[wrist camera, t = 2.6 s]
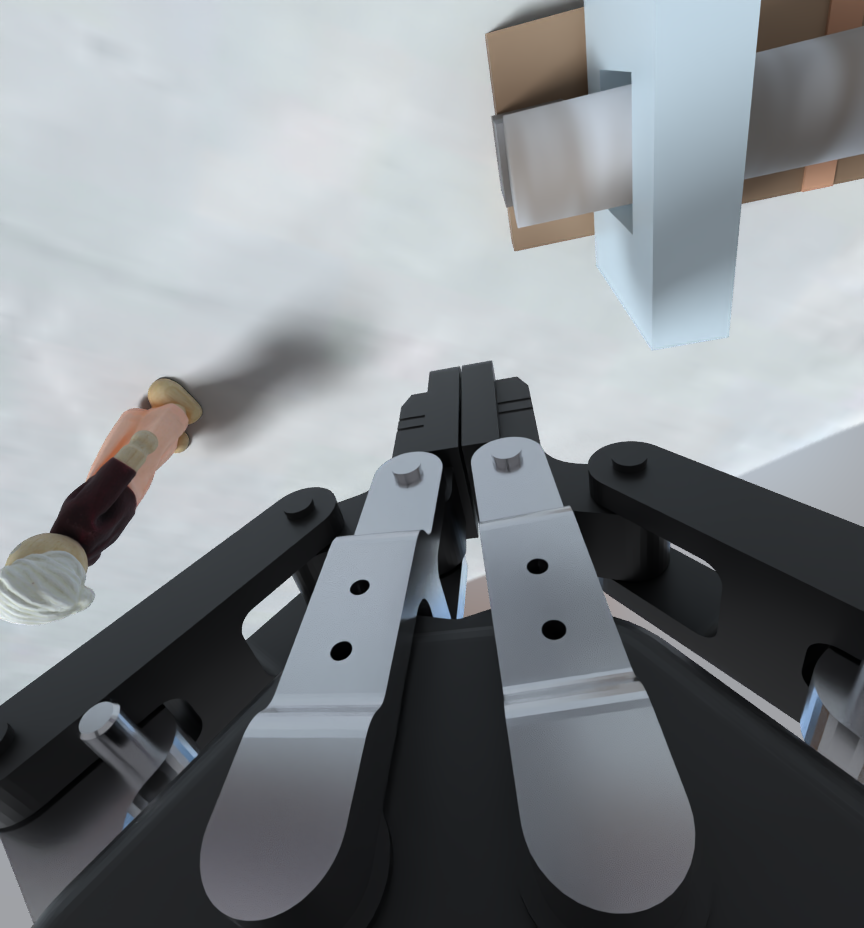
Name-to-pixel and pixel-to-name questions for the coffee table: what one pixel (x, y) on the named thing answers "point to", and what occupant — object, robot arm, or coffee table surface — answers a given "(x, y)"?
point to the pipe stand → (610, 116)
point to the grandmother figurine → (95, 510)
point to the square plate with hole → (676, 158)
